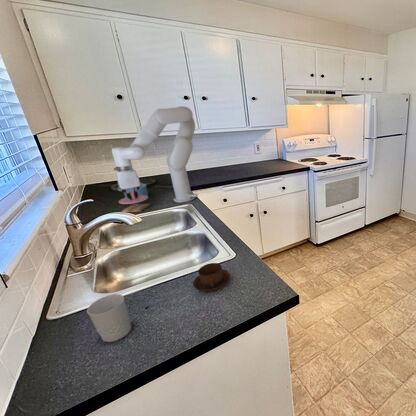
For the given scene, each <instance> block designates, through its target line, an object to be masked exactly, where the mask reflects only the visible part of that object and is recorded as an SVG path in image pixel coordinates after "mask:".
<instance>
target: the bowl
mask: <svg viewBox="0 0 416 416" xmlns="http://www.w3.org/2000/svg"><path fill="white" fill-rule="evenodd" d="M142 185H143V186H142V187H141V188H139V190H138V191H137V193H138V195H145V196H148V197H149V191H148V187H147V186H146V184H142ZM131 191H134V189H133V188H129V189H128V192H131ZM122 193H123V195H124V198H126V197H127V195H126V193H125V192H123V191H122Z"/></svg>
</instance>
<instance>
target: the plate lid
mask: <svg viewBox="0 0 416 416" xmlns="http://www.w3.org/2000/svg"><path fill="white" fill-rule="evenodd" d="M129 193H130V195H131V200H130V199H129V198H127V197H126V198H125V197H123V198H121V199H119V200H118V204H120V205H132V204H139V203H141V202H144V201H146V200H148V199H149V196H145V195H138V198H136V196H135V193H134V191H131V192H129Z"/></svg>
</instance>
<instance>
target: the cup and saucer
mask: <svg viewBox="0 0 416 416" xmlns="http://www.w3.org/2000/svg"><path fill="white" fill-rule="evenodd" d="M230 278H231V274H230V272H229V271H228V270H226V269H223V268H222V265H221V264H220V263H218V262H210V263H206V264H204V265H202V266H201V267H200V268H199V269H198V276H196V278H194V280H193V283H192V284H193V287H194V289H196V290H197V291H199V292H213V291H216V290H218V289H220V288H222V287H224V286H225V285H226V284H228V282H229V281H230Z"/></svg>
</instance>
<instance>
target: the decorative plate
mask: <svg viewBox="0 0 416 416" xmlns="http://www.w3.org/2000/svg"><path fill="white" fill-rule="evenodd" d="M139 181H140V183H141V184H146V186H147V188H150V187H151V186H154V185H156V183H157V182H156V179H153V178H139ZM117 188H118V182H117V183H114V184H112V185H111V186H110V190H111V191H113V192H119V191H118V190H117Z"/></svg>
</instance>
